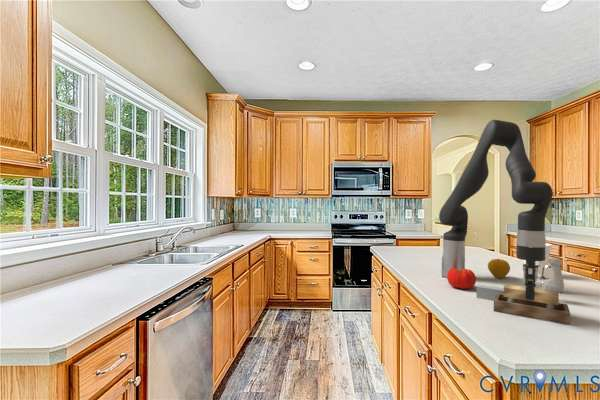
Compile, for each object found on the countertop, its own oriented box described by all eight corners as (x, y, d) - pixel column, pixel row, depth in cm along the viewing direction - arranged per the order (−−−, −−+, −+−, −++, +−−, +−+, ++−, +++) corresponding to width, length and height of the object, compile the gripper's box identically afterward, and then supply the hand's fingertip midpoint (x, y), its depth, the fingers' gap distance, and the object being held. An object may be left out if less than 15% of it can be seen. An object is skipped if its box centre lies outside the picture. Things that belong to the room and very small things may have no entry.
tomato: (447, 289, 129) (448, 270, 129) (446, 282, 140) (446, 265, 140) (477, 292, 126) (478, 273, 125) (474, 285, 136) (474, 267, 136)
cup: (558, 278, 149) (559, 245, 149) (531, 278, 149) (532, 245, 149) (539, 272, 162) (539, 241, 161) (514, 272, 162) (514, 241, 162)
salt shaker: (567, 293, 125) (568, 260, 125) (550, 292, 126) (551, 259, 126) (558, 289, 131) (559, 257, 131) (542, 288, 132) (543, 256, 132)
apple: (488, 274, 156) (488, 255, 156) (510, 277, 151) (510, 258, 151) (486, 278, 149) (486, 258, 149) (509, 281, 143) (509, 261, 143)
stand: (476, 297, 119) (476, 286, 119) (477, 294, 122) (478, 284, 122) (515, 304, 112) (515, 292, 112) (516, 301, 115) (516, 289, 115)
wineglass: (549, 297, 119) (550, 265, 119) (556, 302, 114) (556, 268, 114) (531, 296, 121) (531, 264, 121) (537, 300, 116) (537, 267, 116)
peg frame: (493, 311, 104) (493, 297, 104) (496, 303, 113) (496, 290, 112) (570, 325, 93) (570, 309, 93) (566, 315, 101) (567, 300, 101)
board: (503, 296, 105) (503, 287, 105) (504, 293, 109) (504, 284, 109) (558, 305, 97) (558, 295, 97) (557, 301, 101) (557, 291, 101)
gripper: (517, 241, 111) (516, 289, 111) (515, 245, 99) (514, 300, 99) (544, 243, 106) (544, 293, 107) (546, 248, 95) (545, 305, 95)
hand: (529, 296), depth 103 cm, fingers open, 6 cm apart
